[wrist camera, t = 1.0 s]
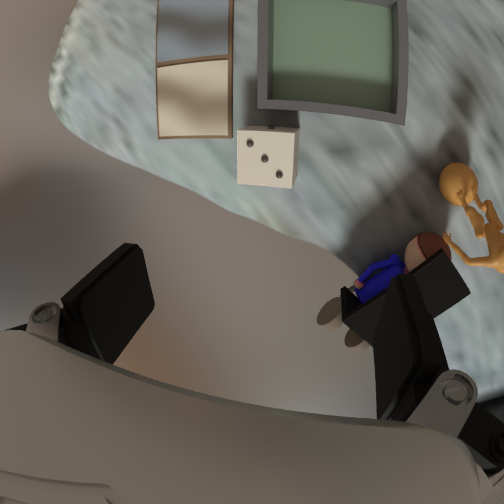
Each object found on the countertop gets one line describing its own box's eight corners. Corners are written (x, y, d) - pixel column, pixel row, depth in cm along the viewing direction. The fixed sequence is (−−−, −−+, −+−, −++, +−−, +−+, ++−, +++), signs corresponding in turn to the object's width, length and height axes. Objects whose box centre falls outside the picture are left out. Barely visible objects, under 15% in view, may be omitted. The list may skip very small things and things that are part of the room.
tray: (265, -8, 18) (258, -19, 15) (398, 4, 16) (405, -5, 13) (264, 107, 24) (257, 108, 22) (396, 122, 22) (404, 125, 19)
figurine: (478, 148, 20) (552, 186, 10) (489, 203, 22) (550, 263, 12) (409, 171, 23) (458, 223, 13) (424, 226, 25) (466, 301, 15)
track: (164, -53, 16) (162, -55, 15) (236, -68, 14) (234, -71, 14) (160, 138, 28) (157, 139, 27) (232, 137, 26) (230, 138, 26)
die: (248, 122, 25) (232, 126, 21) (299, 124, 24) (294, 129, 20) (247, 170, 28) (232, 184, 24) (297, 174, 27) (291, 189, 23)
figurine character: (356, 317, 35) (456, 252, 25) (351, 367, 29) (475, 300, 19) (320, 286, 34) (424, 208, 24) (309, 335, 28) (442, 251, 19)
